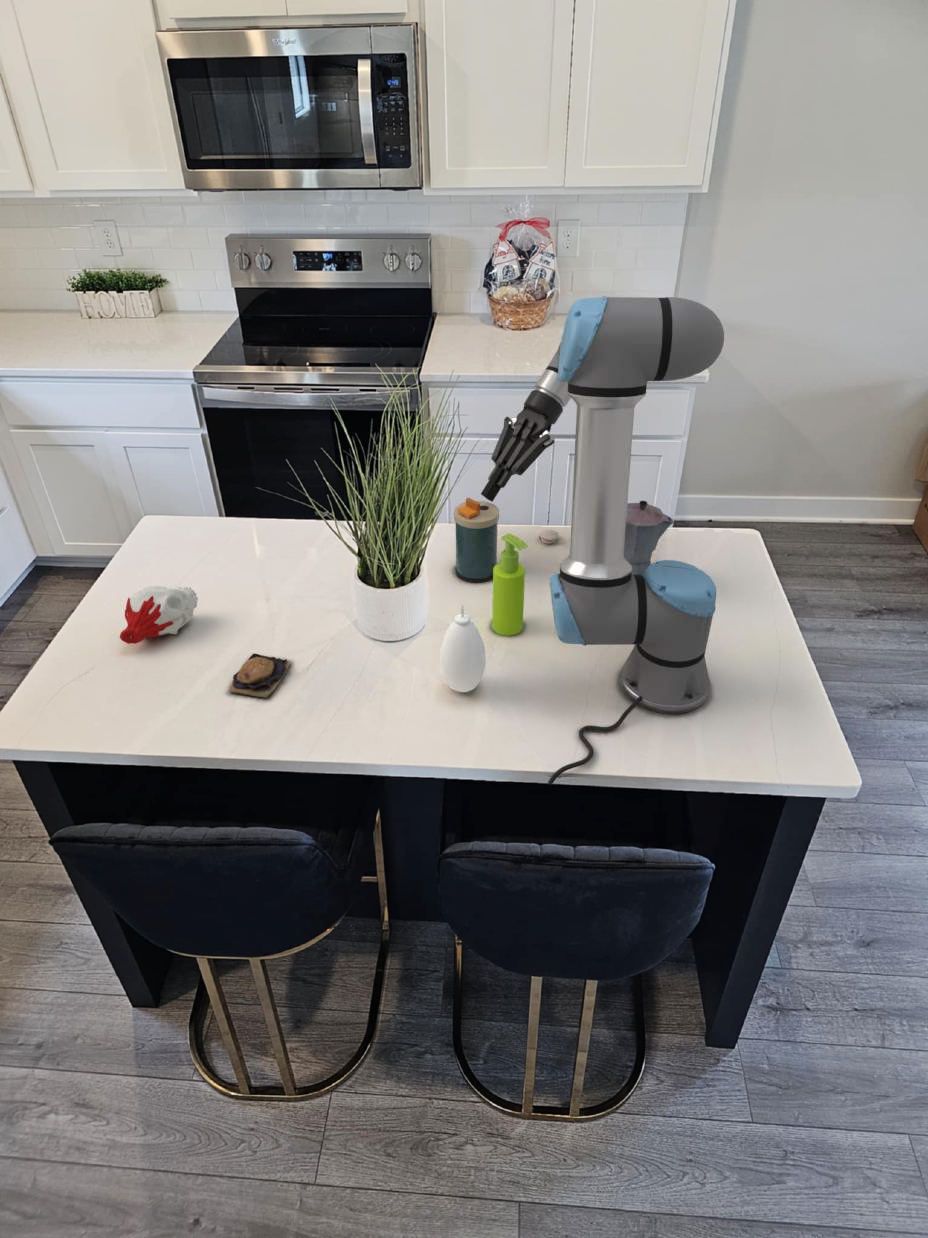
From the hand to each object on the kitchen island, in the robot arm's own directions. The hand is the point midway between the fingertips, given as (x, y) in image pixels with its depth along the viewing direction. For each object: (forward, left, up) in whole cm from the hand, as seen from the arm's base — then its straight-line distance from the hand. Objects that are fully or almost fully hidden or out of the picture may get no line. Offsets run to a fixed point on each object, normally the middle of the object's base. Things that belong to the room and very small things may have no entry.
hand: (486, 497), depth 172 cm
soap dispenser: (-19, -12, -17) cm, 28 cm away
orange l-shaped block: (-4, +2, -2) cm, 5 cm away
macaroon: (+16, -10, -17) cm, 25 cm away
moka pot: (+3, -30, -17) cm, 34 cm away
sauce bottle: (-39, -10, -17) cm, 44 cm away
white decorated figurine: (-44, +51, -17) cm, 70 cm away
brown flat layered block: (-49, +25, -17) cm, 58 cm away
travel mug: (-2, +1, -17) cm, 17 cm away
